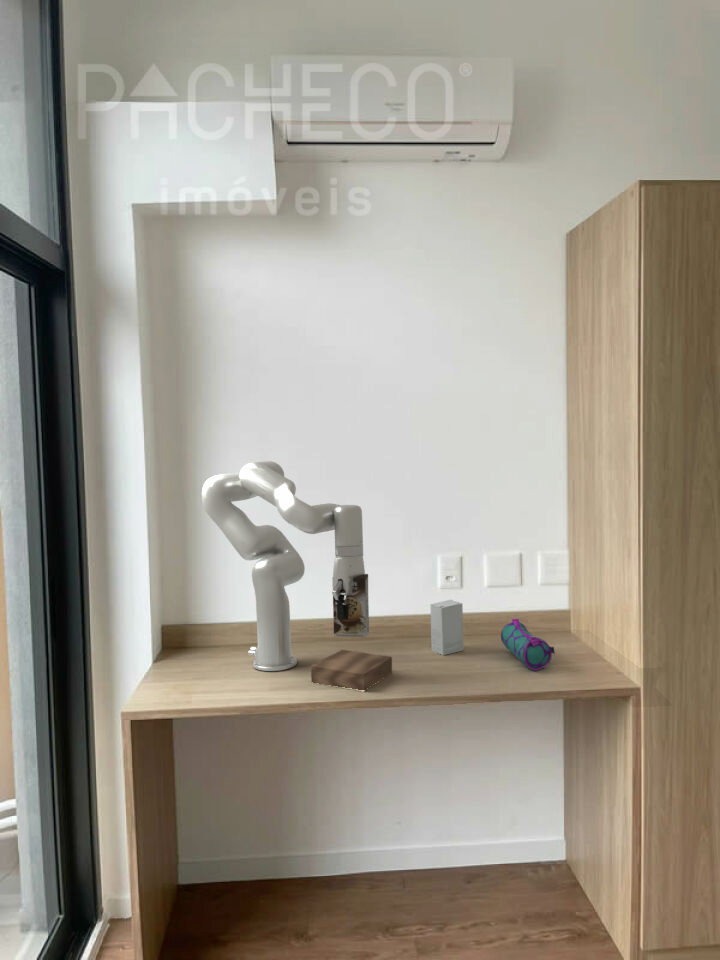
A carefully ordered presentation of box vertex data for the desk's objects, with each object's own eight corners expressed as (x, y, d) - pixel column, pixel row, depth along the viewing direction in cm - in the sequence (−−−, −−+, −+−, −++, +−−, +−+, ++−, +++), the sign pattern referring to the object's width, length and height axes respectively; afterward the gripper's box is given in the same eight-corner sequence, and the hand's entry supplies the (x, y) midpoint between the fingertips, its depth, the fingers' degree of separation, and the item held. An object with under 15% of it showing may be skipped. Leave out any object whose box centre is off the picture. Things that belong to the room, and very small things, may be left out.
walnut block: (311, 684, 188) (311, 665, 188) (342, 666, 202) (341, 649, 202) (363, 693, 181) (363, 674, 180) (392, 674, 194) (391, 656, 194)
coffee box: (333, 637, 188) (331, 577, 187) (337, 630, 194) (335, 572, 194) (366, 637, 187) (365, 577, 186) (370, 631, 193) (368, 572, 192)
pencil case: (555, 671, 193) (554, 636, 193) (524, 673, 192) (523, 638, 191) (527, 649, 214) (527, 617, 213) (499, 651, 213) (498, 619, 212)
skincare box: (451, 646, 218) (451, 599, 217) (464, 651, 213) (463, 602, 212) (430, 651, 213) (429, 602, 213) (442, 656, 208) (441, 606, 207)
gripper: (353, 545, 199) (355, 607, 200) (319, 555, 184) (322, 621, 185) (376, 547, 195) (378, 609, 196) (344, 556, 180) (346, 624, 181)
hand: (351, 615), depth 190 cm, fingers closed on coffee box, 8 cm apart
